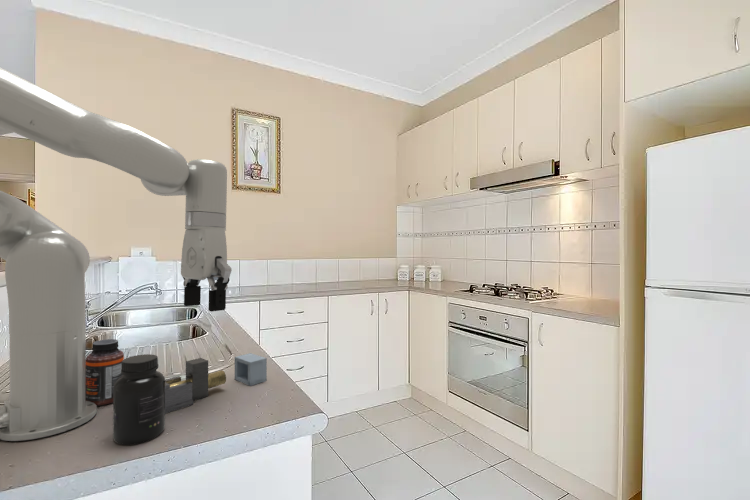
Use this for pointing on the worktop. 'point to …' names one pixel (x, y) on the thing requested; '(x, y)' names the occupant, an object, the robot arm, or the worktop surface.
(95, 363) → the supplement bottle
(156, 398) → the supplement bottle
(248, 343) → the worktop surface
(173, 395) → the sleeve
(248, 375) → the socket
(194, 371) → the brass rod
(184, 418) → the worktop surface
